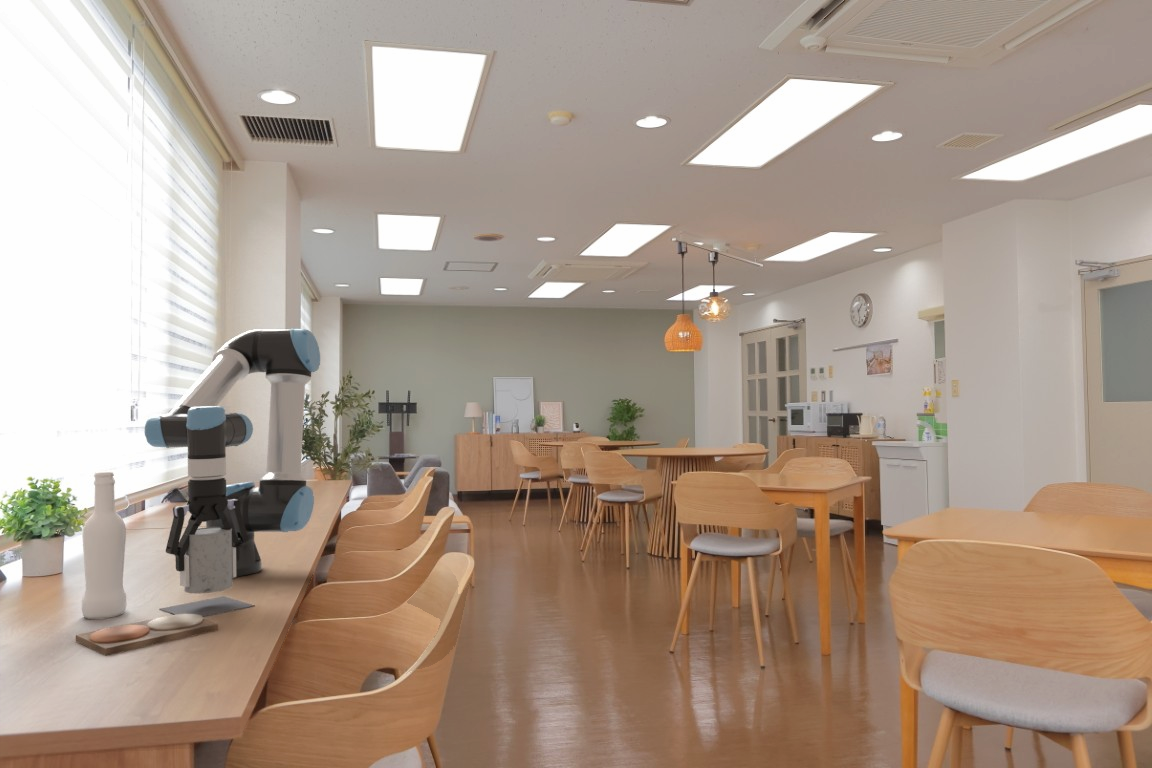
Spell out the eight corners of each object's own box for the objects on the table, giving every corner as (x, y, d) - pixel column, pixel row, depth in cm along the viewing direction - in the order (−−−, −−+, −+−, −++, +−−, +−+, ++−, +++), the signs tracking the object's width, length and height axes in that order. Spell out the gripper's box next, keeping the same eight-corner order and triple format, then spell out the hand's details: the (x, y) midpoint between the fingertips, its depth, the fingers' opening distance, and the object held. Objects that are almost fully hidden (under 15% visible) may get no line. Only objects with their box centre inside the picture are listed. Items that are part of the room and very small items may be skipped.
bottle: (135, 611, 170) (135, 470, 171) (101, 621, 163) (102, 473, 164) (106, 608, 173) (107, 469, 174) (72, 618, 165) (72, 472, 166)
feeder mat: (223, 597, 182) (223, 596, 182) (254, 606, 173) (254, 605, 173) (159, 609, 172) (159, 608, 172) (189, 620, 163) (189, 619, 163)
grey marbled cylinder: (214, 594, 168) (213, 535, 168) (174, 592, 170) (173, 534, 170) (242, 582, 177) (241, 527, 177) (203, 581, 179) (202, 526, 179)
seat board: (184, 618, 164) (185, 609, 164) (218, 629, 155) (218, 620, 155) (75, 641, 149) (75, 631, 149) (105, 655, 140) (105, 645, 140)
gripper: (247, 471, 184) (248, 569, 184) (145, 481, 167) (147, 589, 167) (264, 473, 180) (265, 573, 180) (161, 484, 162) (163, 594, 162)
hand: (208, 581), depth 173 cm, fingers closed on grey marbled cylinder, 9 cm apart
